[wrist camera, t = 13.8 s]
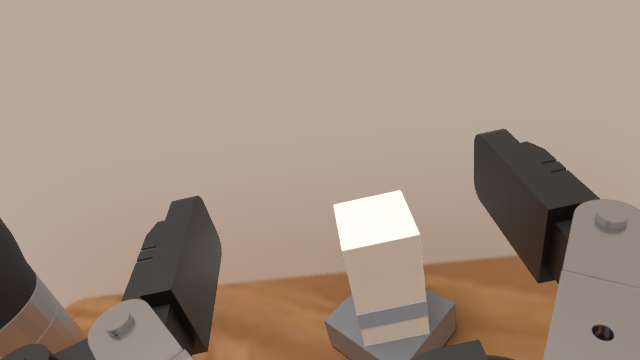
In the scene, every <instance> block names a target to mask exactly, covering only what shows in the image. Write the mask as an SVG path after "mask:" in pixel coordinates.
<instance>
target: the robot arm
mask: <svg viewBox="0 0 640 360" xmlns="http://www.w3.org/2000/svg"><path fill="white" fill-rule="evenodd" d="M474 184H475V189H476V193H477V195H478V198H479V200H480V201H481V203H482V204H483V205H484V207H485V208H486V210H487V211H488V213H489V214H490V216H491V217H492V218H493V220H494V221H495V223H496V224H497V225H498V227H499V228H500V230H501V231H502V233H503V234H504V236H505V237H506V238H507V240H508V241H509V243H510V244H511V245H512V247H513V248H514V250H515V251H516V253H517V254H518V255H519V257H520V258H521V260H522V261H523V263H524V264H525V265H526V267H527V268H528V270H529V271H530V273H531V274H532V275H533V277H534V278H535V280H536V281H537V283H543V282H548V281H553V280H556V281H557V283H558V284H559V285H558V290H557V295H556V300H555V305H554V310H553V315H552V319H551V324H550V329H549V334H548V339H547V344H546V349H545V353H544V358H543V360H640V210H639V209H638V208H636V207H634V206H632V205H629V204H627V203H623V202H620V201H615V200H607V199H604V200H603V199H600V198H599V197H597V196H596V195H595V194H594V193H593V192H592V191H591V190H590V189H589V188H587V187H586V186H585V185H584V184H583V183H582V182H581V181H580V180H578V179H577V178H576V177H575V176H574V175H573V174H572V173H571V172H569V171H566V168H565V167H564V166H563V165H562V164H561V163H560V162H557V161H556V159H555V158H554V157H553V156H552V155H550V153H548V152H547V151H546V150H545V149H543V148H541V147H539V146H536V145H534V144H531V143H529V142H523V143H519V141H518V140H516V139H515V138H514V137H513V136H512V135H511V134H510V133H509V132H508V131H507V130H506V129H500V130H495V131H491V132H486V133H482V134H478V135H476V137H475V140H474ZM141 250H142V252H140V254H139V256H138V259H137V263H136V264H135V267H134V269H133V272H132V275H131V277H130V280H129V283H128V285H127V288H126V290H125V293H124V296H123V298H122V301H121V302H120V303H118V304H116V305H114V306H112V307H111V308H109V309H108V310H107V311H105V312H104V313H103V314H102V315H101V316H100V317H99V318H98V319H97V320H96V321H95V323H94V324H93V325H92V327H91V329H90V331H89V334H88V337H87V336H86V334H85V333H84V332H83V331H82V329H81V328H80V327H79V326H78V325H77V323H76V322H75V321H74V320H73V318H72V317H71V316H70V315H69V314H68V312H67V311H66V310H65V309H64V307H63V306H62V305H61V304H60V303H59V301H58V300H57V299H56V298H55V296H54V295H53V294H52V293H51V292H50V290H49V289H48V288H47V287H46V285H45V284H44V283H43V282H42V281H41V280H40V278H39V277H38V276H37V274H36V273H35V272H34V271H33V270H32V268H31V267H30V266H29V264H28V263H27V262H26V260H25V258H24V256H23V254H22V252H21V250H20V249H19V246H18V244H17V242H16V240H15V239H14V237H13V235H12V234H11V232H10V231H9V229H8V228H7V227H6V225H5V224H4V223H3V221H2V220H1V219H0V360H193V359H192V355H193V354H198V353H203V352H208V346H209V339H210V332H211V325H212V318H213V311H214V304H215V297H216V290H217V283H218V276H219V269H220V262H221V254H222V252H221V243H220V239H219V236H218V234H217V231H216V229H215V227H214V224H213V222H212V220H211V218H210V216H209V213H208V211H207V209H206V207H205V205H204V202H203V200H202V199H201V197H199V196H194V197H190V198H185V199H181V200H176V201H173V202H172V203H171V205H170V208H169V211H168V214H167V217H166V219H165V221H160V222H157V224H156V225H155V226H154V227H153V228H152V229H151V231H150V232H149V233H148V234H147V235H146V238H145V240H144V243H143V246H142V248H141ZM411 360H514V359H510V358H507V357H500V356H494V355H486V354H485V352H484V349H483V347H482V345H481V343H480V341H479V340H476V341H471V342H466V343H462V344H457V345H452V346H447V347H442V348H437V349H432V350H430V351H428V352H426V353H423V354H421V355H419V356H417V357H415V358H413V359H411Z"/></svg>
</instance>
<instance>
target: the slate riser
mask: <svg viewBox="0 0 640 360" xmlns="http://www.w3.org/2000/svg"><path fill="white" fill-rule="evenodd" d="M425 290H426V299H427V303H428V314H429V316H428V321H429V331H430V334H425V335H420V336H415V337H410V338H405V339H400V340H395V341H390V342H385V343H380V344H375V345H370V346H364V342H363V337H362V333H361V330H360V327H359V323H358V319H357V315H356V310H355V304H354V300H353V295H352V294H351V295H350V296H349V297H348V298H347V299H346V300H345V301H344V302H343V303H342V304H341V305H340V306H339V307H338V308H337V309H336V310H335V311H334V312H333V313H332V314H331V315H330V316H329V317H328V318H327V319H326V320H325V321H324V322H325V325H326V328H327V331H328V335H329V338H330V341H331V344H332V346H333V347H335V348H336V349H337V350H339V351H340V352H341V353H343V354H344V355H345V356H347V357H348V358H349V359H351V360H411V359H413V358H415V357H417V356H419V355H421V354H423V353H426V352H428V351H430V350H432V349H437V348H442V347H443V346H444V344H445V343H446V342H447V341H448V339H449V338H450V337H451V335H452V334H453V333H454V331H455V330H456V317H455V303H454V302H452V301H450V300H448V299H446V298H444V297H442V296H440V295H438V294H436V293H434V292H432V291H430V290H428V289H426V288H425Z"/></svg>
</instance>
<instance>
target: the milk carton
mask: <svg viewBox="0 0 640 360" xmlns="http://www.w3.org/2000/svg"><path fill="white" fill-rule="evenodd" d="M334 211H335V216H336V222H337V227H338V233H339V238H340V243H341V249H342V253H343V257H344V262H345V266H346V270H347V275H348V279H349V283H350V287H351V291H352V295H353V300H354V304H355V310H356V315H357V319H358V323H359V327H360V330H361V333H362V337H363V342H364V346H370V345H375V344H380V343H385V342H390V341H395V340H400V339H405V338H410V337H415V336H420V335H425V334H430V331H429V321H428V316H429V314H428V303H427V299H426V290H425V280H424V269H423V259H422V248H421V238H420V233H419V231H418V229H417V226H416V224H415V222H414V220H413V217H412V215H411V213H410V210H409V208H408V206H407V203H406V201H405V199H404V197H403V194H402V192H401V190H399V191H394V192H389V193H385V194H380V195H376V196H371V197H367V198H362V199H357V200H353V201H348V202H343V203H339V204H334Z"/></svg>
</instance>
